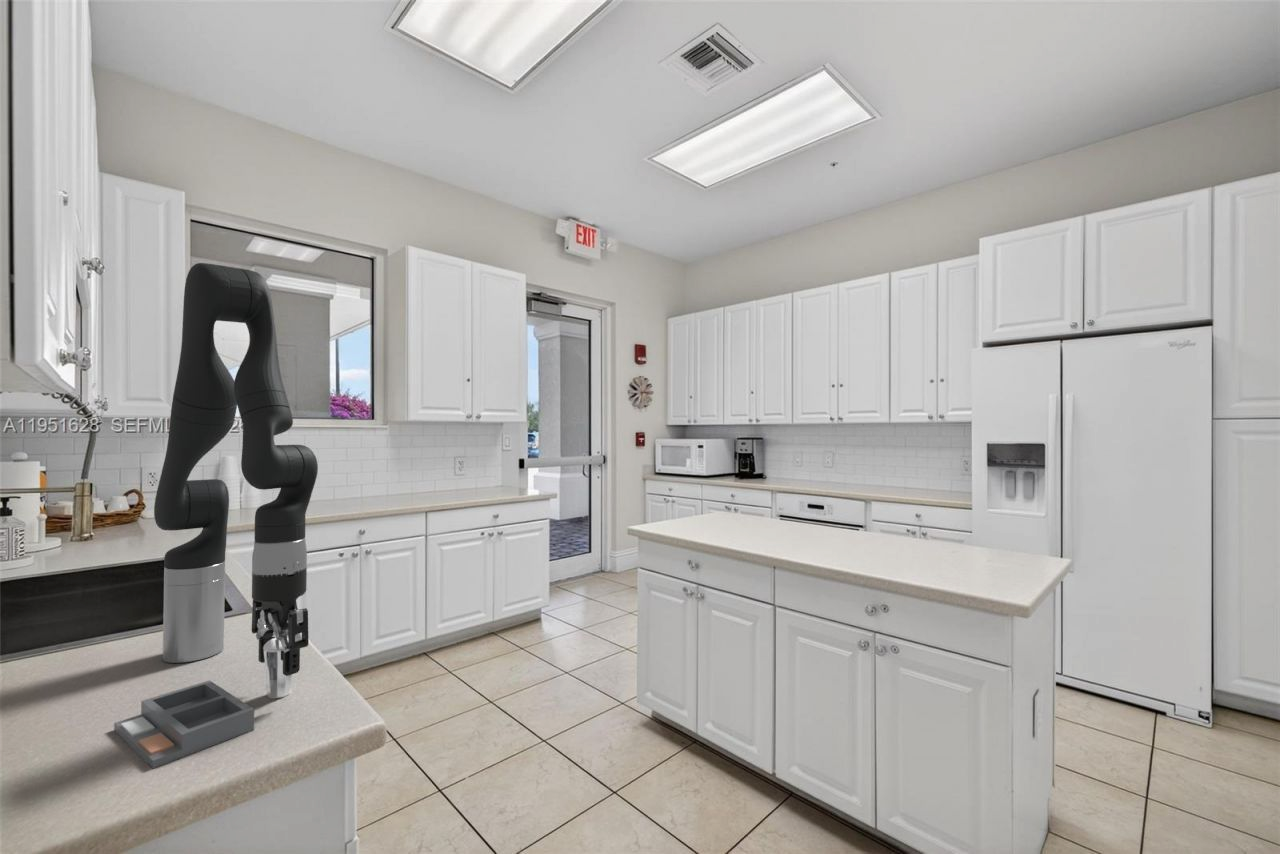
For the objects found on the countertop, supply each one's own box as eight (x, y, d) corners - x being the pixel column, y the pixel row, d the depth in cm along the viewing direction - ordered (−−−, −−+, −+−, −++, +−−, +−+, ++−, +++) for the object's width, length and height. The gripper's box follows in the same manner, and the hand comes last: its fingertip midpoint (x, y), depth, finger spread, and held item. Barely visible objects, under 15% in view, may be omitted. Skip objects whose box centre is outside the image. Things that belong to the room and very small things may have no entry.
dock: (114, 729, 82) (114, 708, 82) (209, 699, 91) (209, 680, 91) (152, 768, 73) (153, 744, 73) (253, 729, 82) (254, 709, 82)
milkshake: (258, 705, 89) (259, 641, 90) (265, 690, 94) (266, 630, 94) (292, 700, 91) (293, 637, 91) (297, 686, 96) (298, 627, 96)
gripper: (235, 565, 94) (233, 664, 93) (275, 578, 86) (273, 687, 85) (284, 557, 100) (283, 650, 100) (325, 569, 92) (324, 670, 92)
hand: (278, 667), depth 93 cm, fingers open, 8 cm apart
